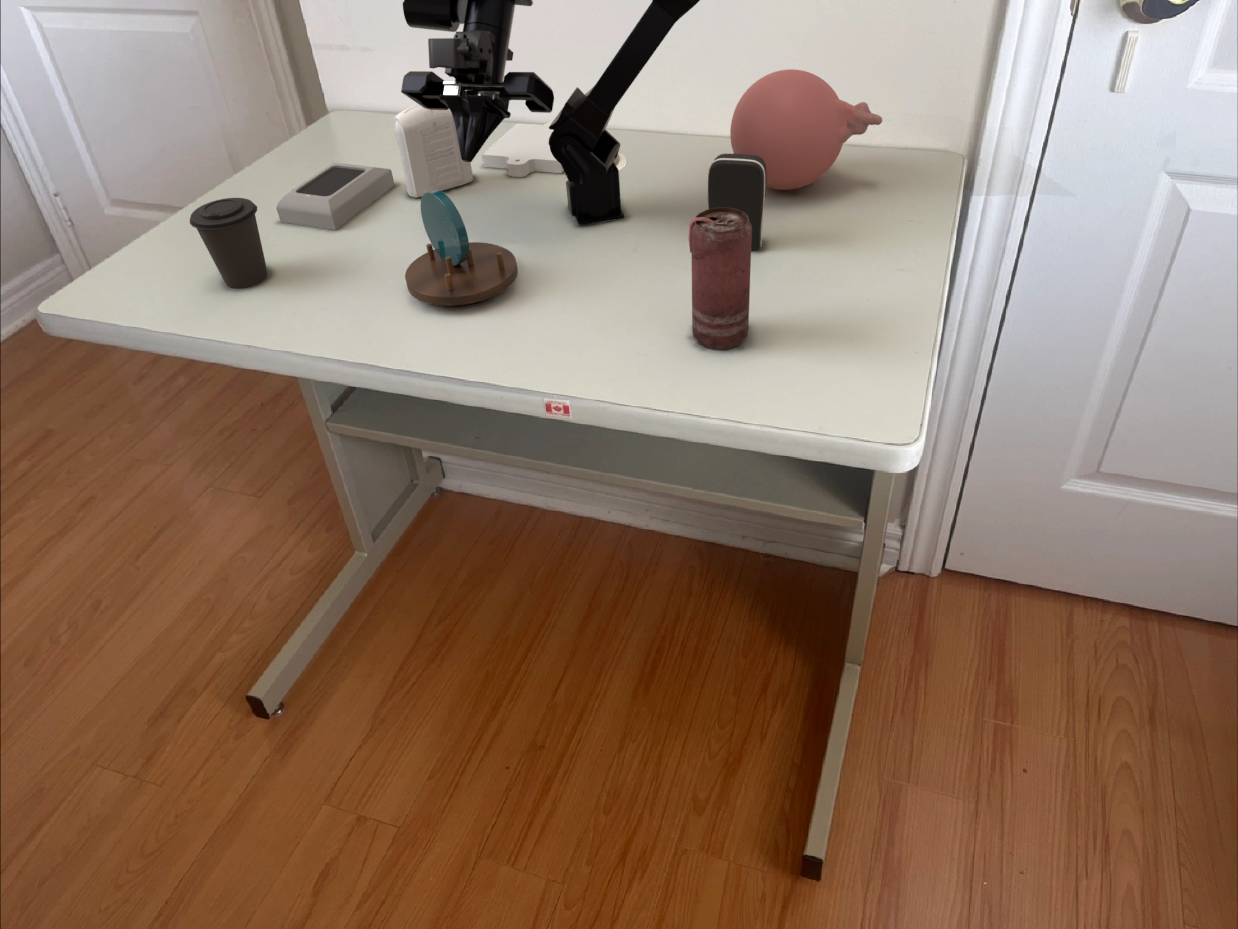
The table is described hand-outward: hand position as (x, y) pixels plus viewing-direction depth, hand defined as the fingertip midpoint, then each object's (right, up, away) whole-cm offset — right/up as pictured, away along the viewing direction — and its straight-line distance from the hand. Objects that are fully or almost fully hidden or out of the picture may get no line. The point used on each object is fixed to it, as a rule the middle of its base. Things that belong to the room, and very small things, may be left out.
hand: (466, 161), depth 114 cm
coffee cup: (-29, -13, +6) cm, 33 cm away
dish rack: (0, -14, 0) cm, 14 cm away
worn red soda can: (+30, -23, -11) cm, 39 cm away
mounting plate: (+6, +11, +31) cm, 34 cm away
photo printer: (-8, +4, +24) cm, 25 cm away
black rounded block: (+34, -9, +5) cm, 35 cm away
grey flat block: (-22, +1, +22) cm, 31 cm away
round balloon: (+44, +2, +17) cm, 47 cm away
